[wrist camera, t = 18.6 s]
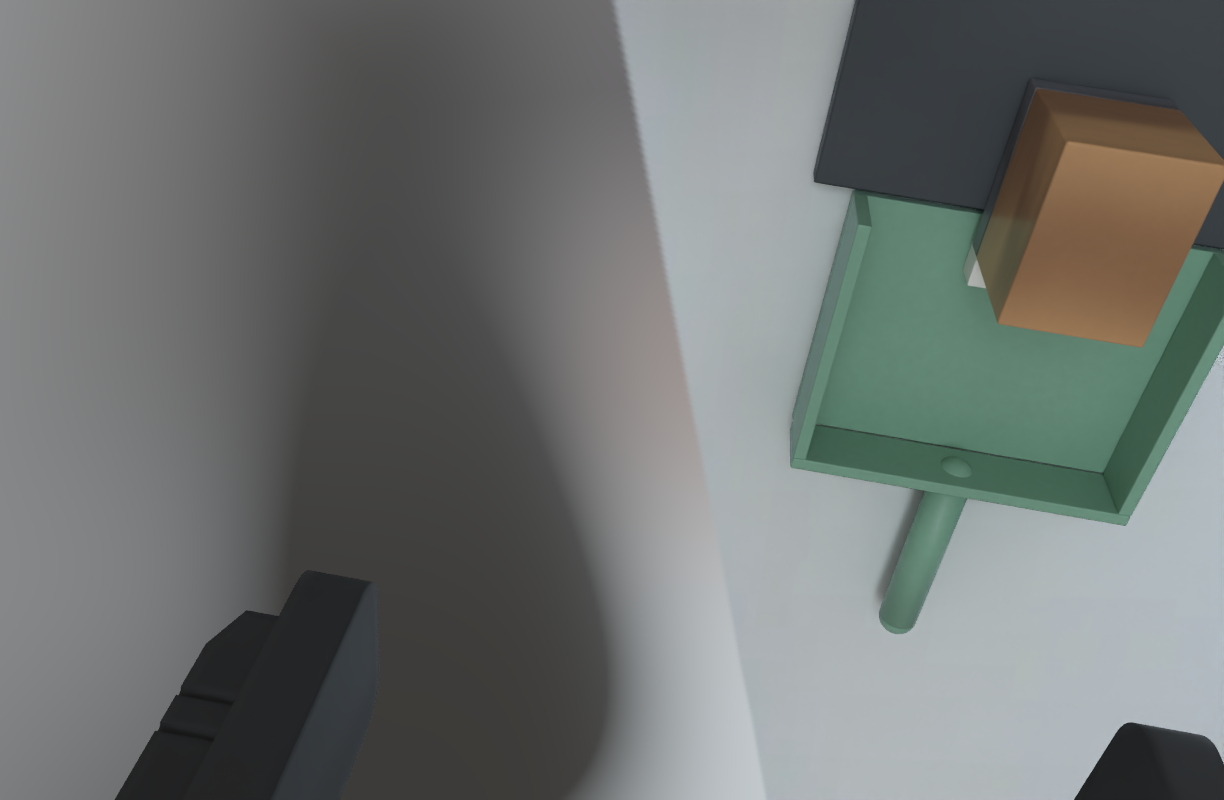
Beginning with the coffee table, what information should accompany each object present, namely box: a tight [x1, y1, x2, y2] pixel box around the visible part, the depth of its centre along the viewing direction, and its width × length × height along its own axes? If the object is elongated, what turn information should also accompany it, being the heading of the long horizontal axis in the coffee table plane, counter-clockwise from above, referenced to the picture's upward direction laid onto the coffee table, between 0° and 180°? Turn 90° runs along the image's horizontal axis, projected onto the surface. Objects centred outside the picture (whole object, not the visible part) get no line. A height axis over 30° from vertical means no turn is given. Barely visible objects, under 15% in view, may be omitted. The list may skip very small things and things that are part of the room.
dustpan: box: [790, 190, 1224, 634], centre depth 42 cm, size 19×13×3 cm
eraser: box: [972, 78, 1224, 348], centre depth 33 cm, size 6×4×6 cm
